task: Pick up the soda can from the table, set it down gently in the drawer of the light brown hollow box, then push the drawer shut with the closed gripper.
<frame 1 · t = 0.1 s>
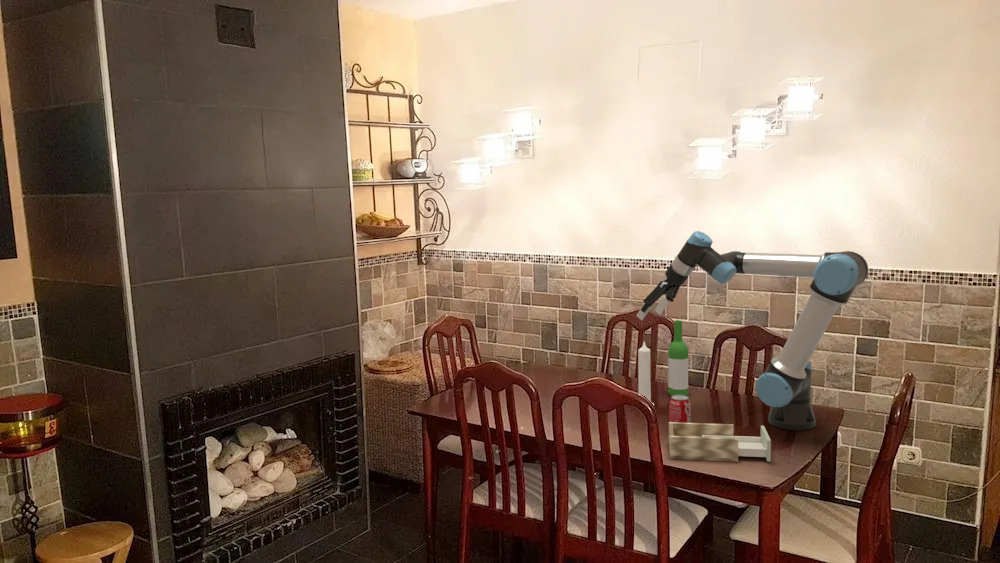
hand: (648, 315, 262), 36 cm above the table, tool tilted 35°, fingers open, 13 cm apart
soda can: (679, 431, 242), on the table
wine bottle: (678, 395, 283), on the table
drawer: (734, 441, 220), point 4 cm above the table, slide at 8.0 cm
candle: (644, 406, 271), on the table
light brown hollow box: (702, 451, 223), on the table
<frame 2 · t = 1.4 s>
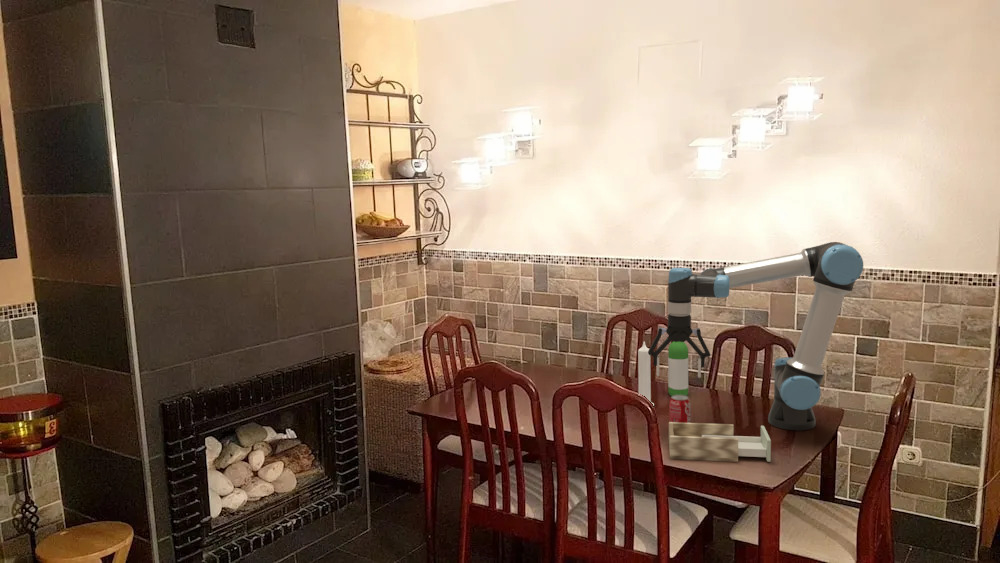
hand: (678, 375, 241), 19 cm above the table, tool pointing down, fingers open, 13 cm apart
nothing on the table moved.
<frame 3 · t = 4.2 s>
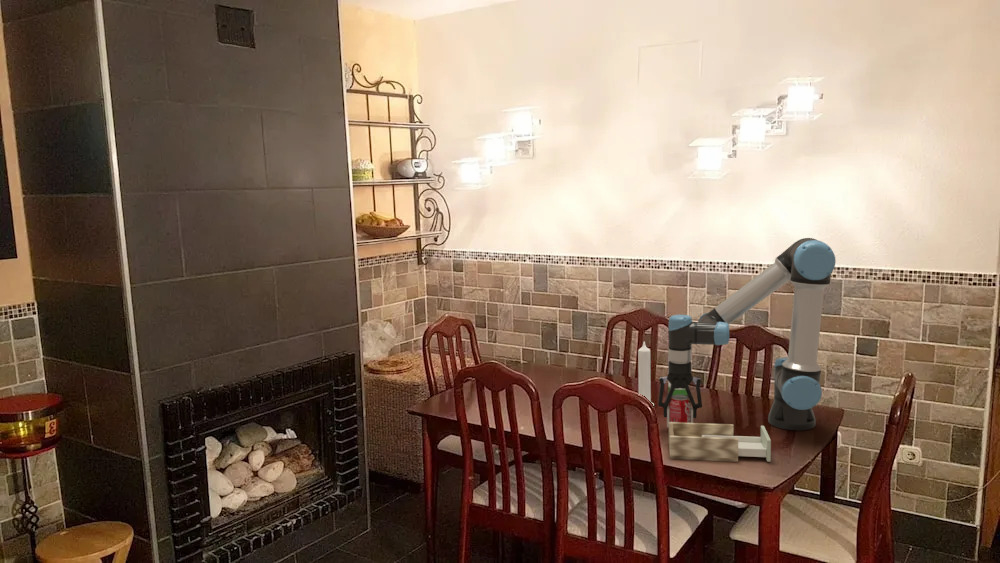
hand: (679, 426, 242), 2 cm above the table, tool pointing down, fingers closed on soda can, 7 cm apart
soda can: (679, 431, 242), on the table, touching gripper
everything else where it was.
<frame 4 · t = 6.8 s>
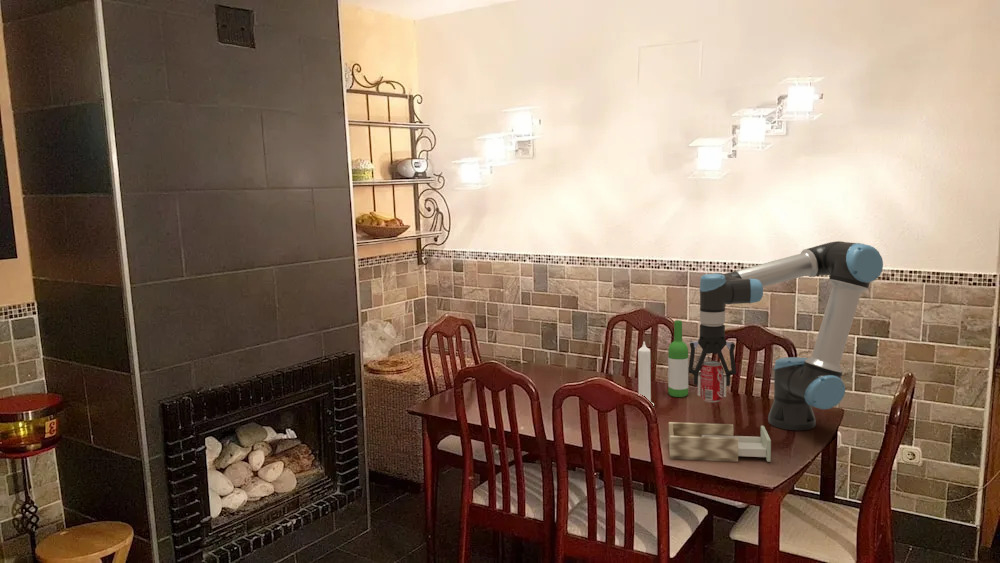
hand: (711, 395, 225), 17 cm above the table, tool pointing down, fingers closed on soda can, 7 cm apart
soda can: (711, 400, 225), point 15 cm above the table, touching gripper
everything else where it was.
when the fingers open (5 cm above the table, at t = 9.9 s): soda can drops 1 cm, resting on drawer.
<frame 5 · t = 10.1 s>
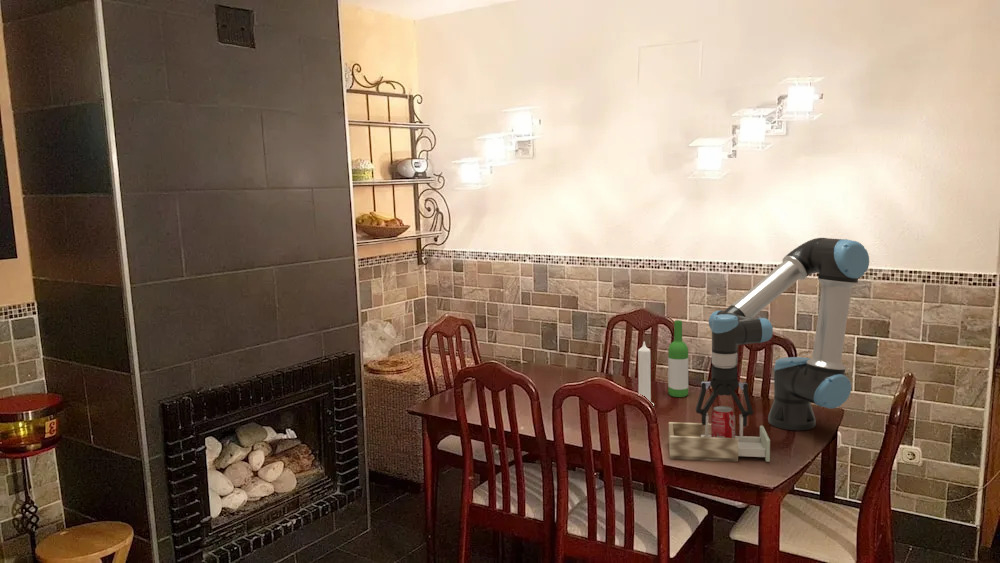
hand: (723, 435, 221), 6 cm above the table, tool pointing down, fingers open, 9 cm apart
soda can: (723, 446, 221), point 2 cm above the table, touching drawer
drawer: (733, 441, 221), point 4 cm above the table, slide at 7.8 cm, touching soda can
everything else where it was.
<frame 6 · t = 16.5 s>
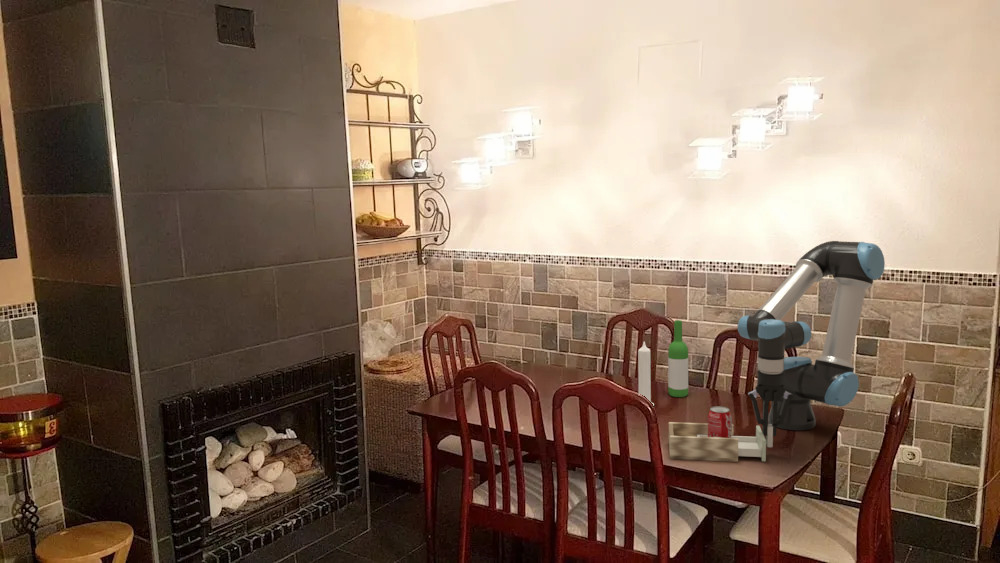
hand: (769, 445, 218), 3 cm above the table, tool pointing down, fingers closed
soda can: (719, 446, 222), point 2 cm above the table, touching drawer
drawer: (730, 441, 221), point 4 cm above the table, slide at 6.6 cm, touching gripper, soda can
everything else where it was.
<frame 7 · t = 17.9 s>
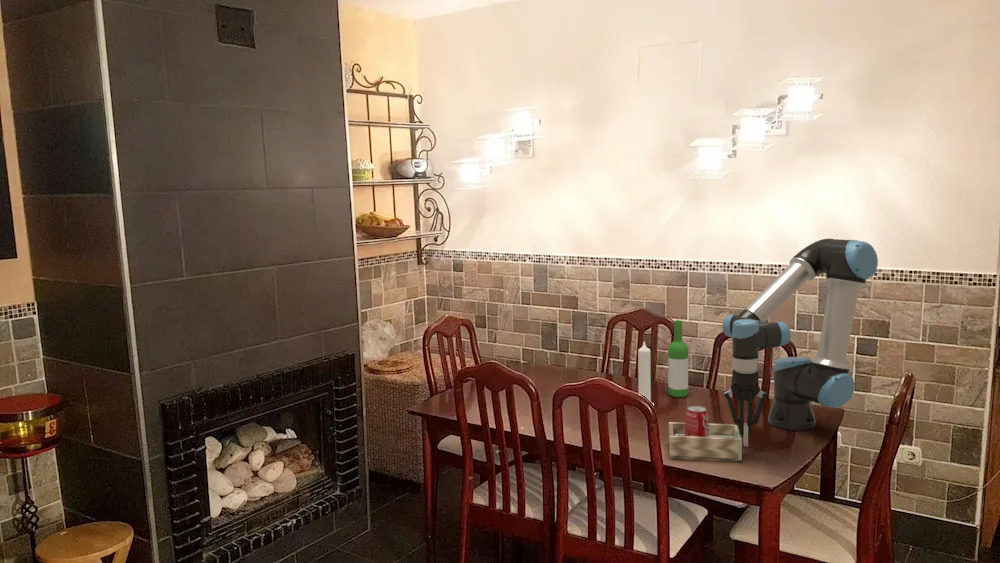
hand: (745, 444, 220), 3 cm above the table, tool pointing down, fingers closed
soda can: (696, 445, 223), point 2 cm above the table, touching drawer
drawer: (707, 440, 222), point 4 cm above the table, slide at -0.2 cm, touching gripper, soda can
everything else where it was.
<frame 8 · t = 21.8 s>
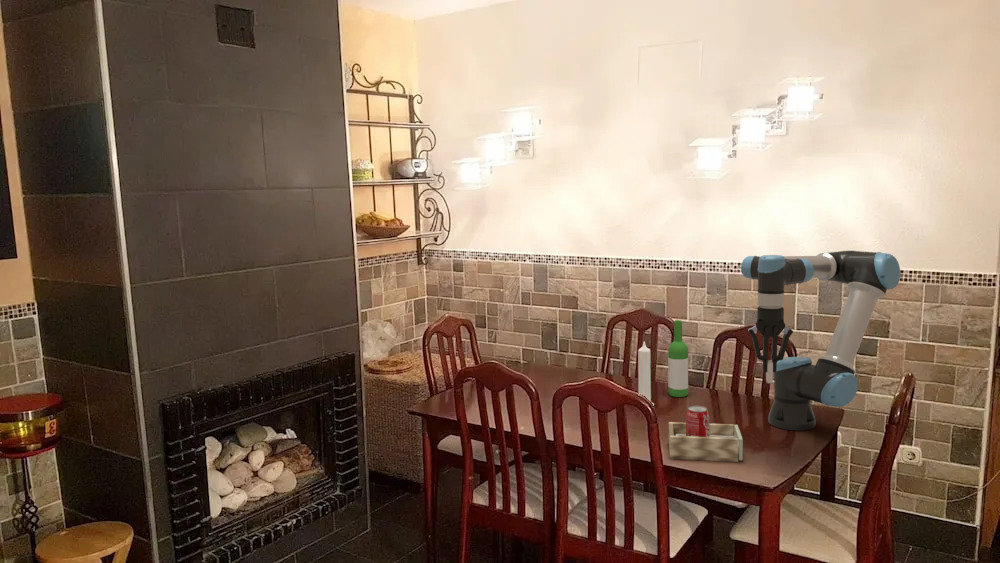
hand: (769, 381, 218), 22 cm above the table, tool pointing down, fingers closed
drawer: (707, 440, 222), point 4 cm above the table, slide at 0.0 cm, touching soda can
everything else where it was.
at the end: drawer slide at 0.0 cm; soda can inside the target area on the light brown hollow box (1.4 cm from its centre), point 1.9 cm above the light brown hollow box's base; soda can tilted 0° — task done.
